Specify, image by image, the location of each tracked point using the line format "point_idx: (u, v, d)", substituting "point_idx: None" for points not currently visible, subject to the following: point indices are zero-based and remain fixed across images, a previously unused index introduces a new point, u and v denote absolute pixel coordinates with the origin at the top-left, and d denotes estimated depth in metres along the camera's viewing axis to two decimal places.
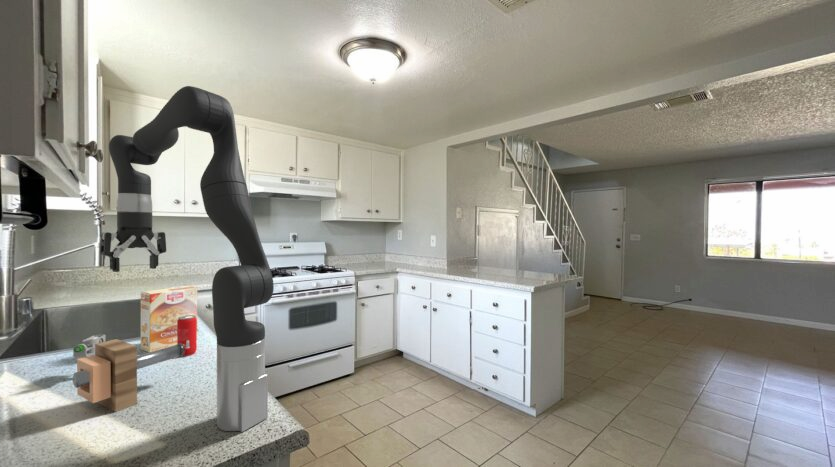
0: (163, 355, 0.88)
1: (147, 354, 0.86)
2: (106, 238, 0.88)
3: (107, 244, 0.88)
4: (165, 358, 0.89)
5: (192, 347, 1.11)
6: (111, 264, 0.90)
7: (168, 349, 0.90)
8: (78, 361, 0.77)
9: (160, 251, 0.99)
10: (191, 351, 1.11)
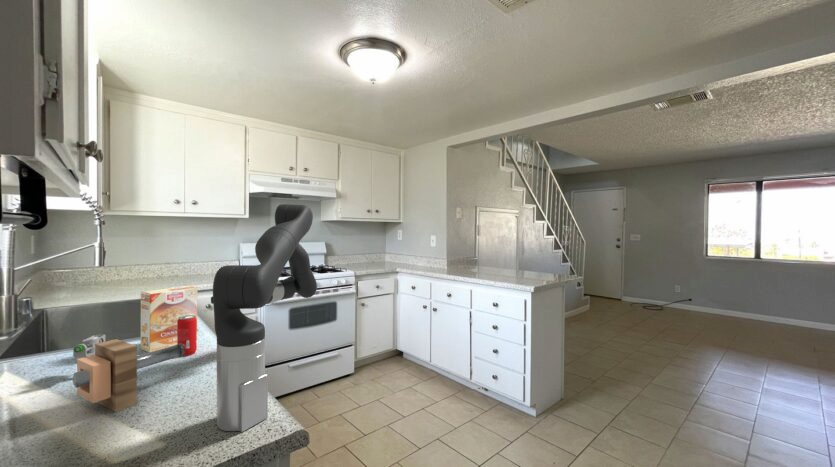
0: (163, 355, 0.88)
1: (147, 354, 0.86)
2: None
3: None
4: (165, 358, 0.89)
5: (192, 347, 1.11)
6: None
7: (168, 349, 0.90)
8: (78, 361, 0.77)
9: None
10: (191, 351, 1.11)
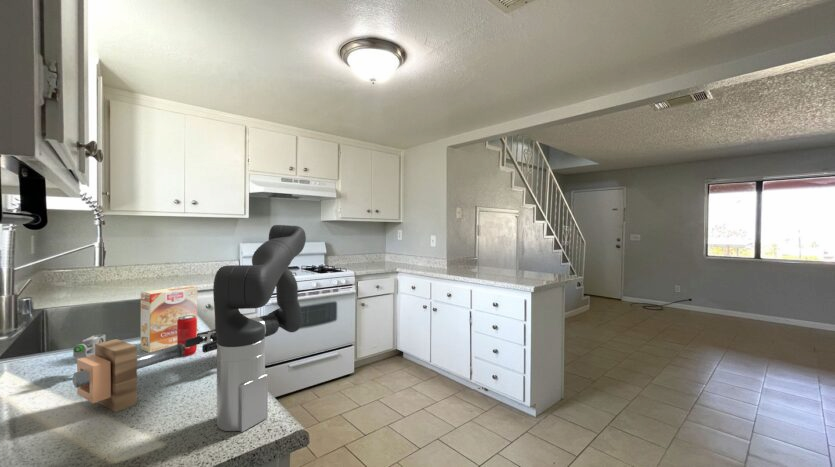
0: (163, 355, 0.88)
1: (147, 354, 0.86)
2: (211, 330, 1.07)
3: (206, 331, 1.06)
4: (165, 358, 0.89)
5: (192, 347, 1.11)
6: None
7: (168, 349, 0.90)
8: (78, 361, 0.77)
9: None
10: (191, 351, 1.11)
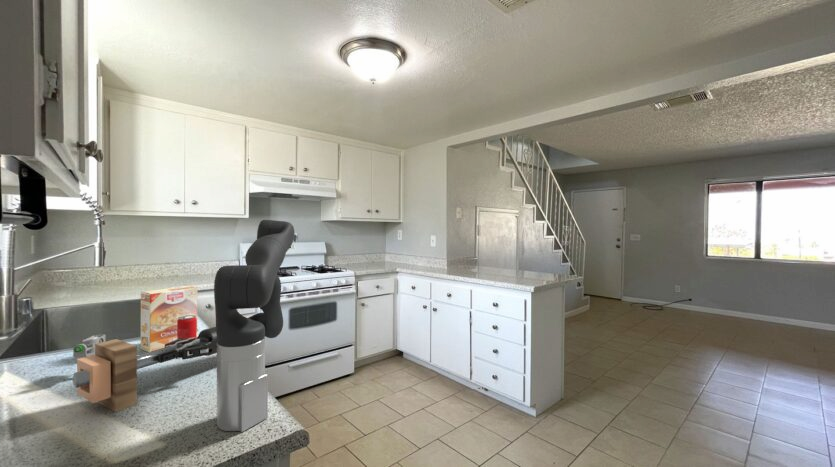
0: None
1: (147, 354, 0.86)
2: (177, 339, 0.98)
3: (173, 341, 0.96)
4: None
5: None
6: None
7: (168, 349, 0.90)
8: (78, 361, 0.77)
9: (182, 351, 0.90)
10: None
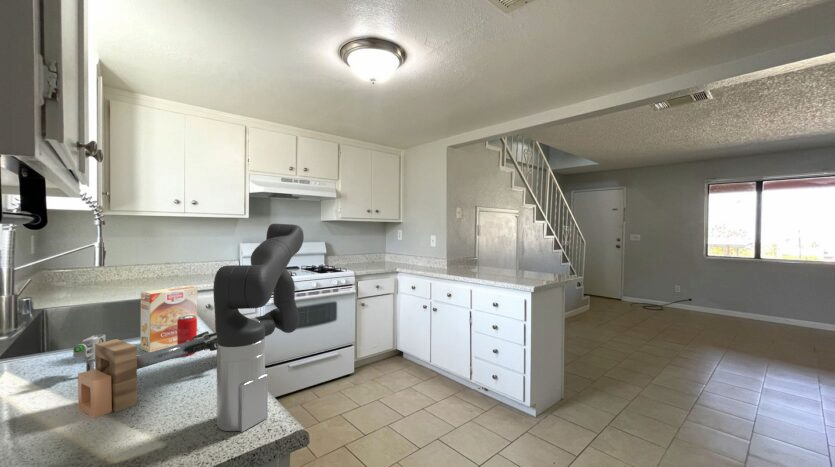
0: None
1: (178, 345, 0.92)
2: (203, 333, 1.04)
3: (200, 334, 1.03)
4: None
5: None
6: None
7: (197, 341, 0.96)
8: (79, 376, 0.77)
9: (209, 342, 0.97)
10: None
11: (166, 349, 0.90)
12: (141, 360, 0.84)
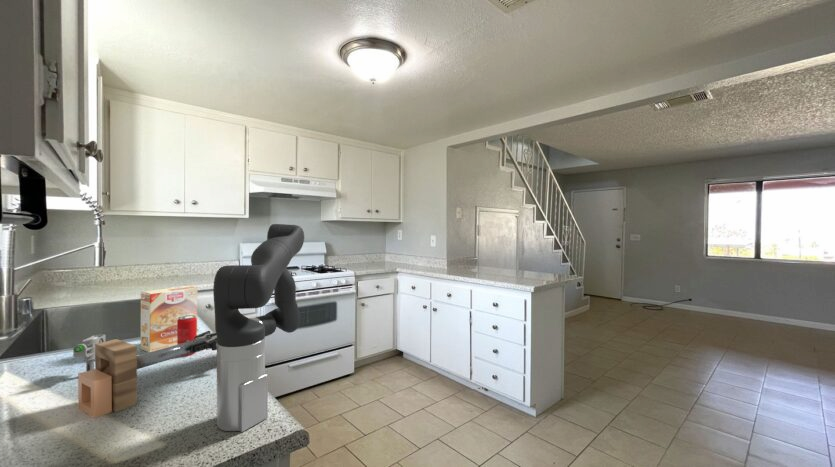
0: None
1: (180, 345, 0.93)
2: (204, 332, 1.05)
3: (201, 334, 1.03)
4: None
5: None
6: None
7: (199, 340, 0.97)
8: (79, 376, 0.78)
9: (211, 342, 0.97)
10: None
11: (168, 348, 0.90)
12: (143, 359, 0.84)
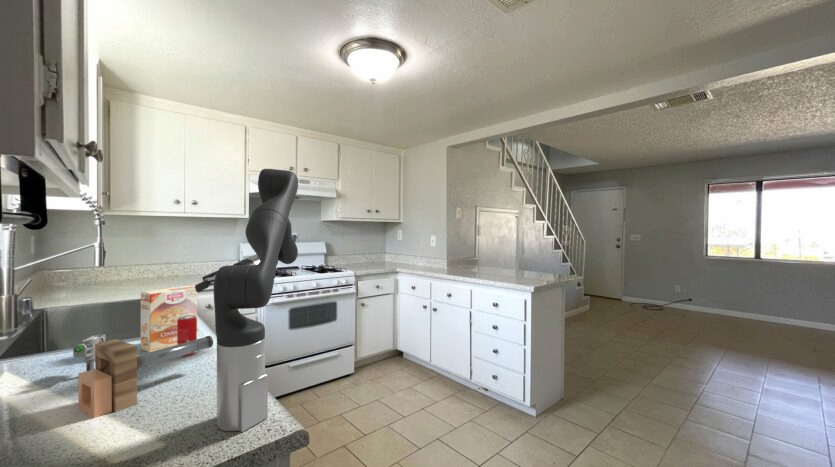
0: (194, 346, 0.95)
1: (180, 345, 0.93)
2: (214, 272, 1.08)
3: (210, 274, 1.06)
4: (196, 349, 0.95)
5: None
6: None
7: (199, 340, 0.97)
8: (79, 376, 0.78)
9: None
10: None
11: (168, 348, 0.90)
12: (143, 359, 0.84)
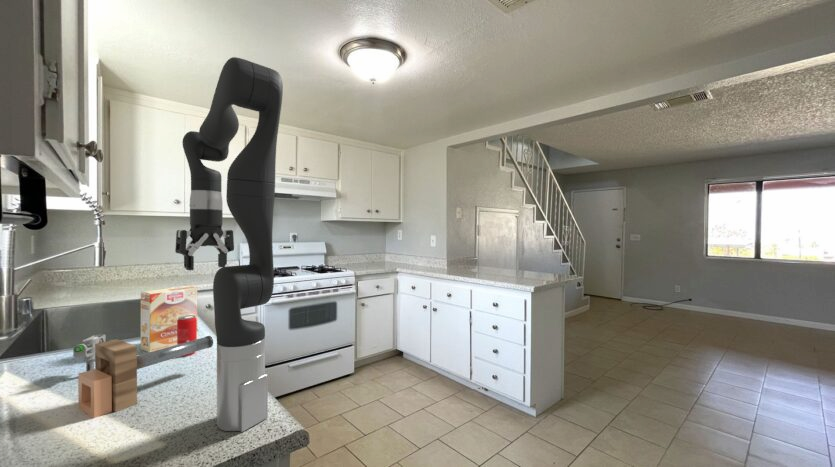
0: (194, 346, 0.95)
1: (180, 345, 0.93)
2: (182, 236, 0.86)
3: (183, 242, 0.87)
4: (196, 349, 0.95)
5: None
6: (185, 263, 0.88)
7: (199, 340, 0.97)
8: (79, 376, 0.78)
9: (228, 249, 0.98)
10: None
11: (168, 348, 0.90)
12: (143, 359, 0.84)
